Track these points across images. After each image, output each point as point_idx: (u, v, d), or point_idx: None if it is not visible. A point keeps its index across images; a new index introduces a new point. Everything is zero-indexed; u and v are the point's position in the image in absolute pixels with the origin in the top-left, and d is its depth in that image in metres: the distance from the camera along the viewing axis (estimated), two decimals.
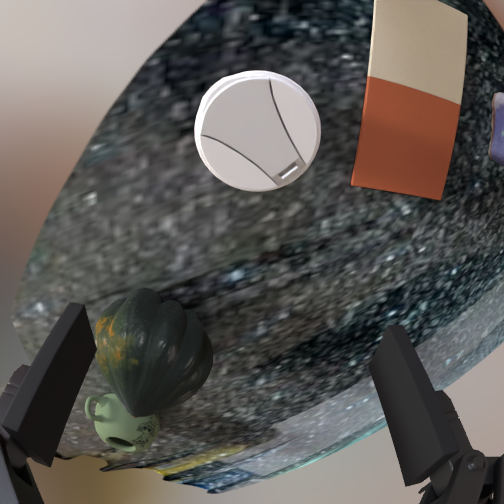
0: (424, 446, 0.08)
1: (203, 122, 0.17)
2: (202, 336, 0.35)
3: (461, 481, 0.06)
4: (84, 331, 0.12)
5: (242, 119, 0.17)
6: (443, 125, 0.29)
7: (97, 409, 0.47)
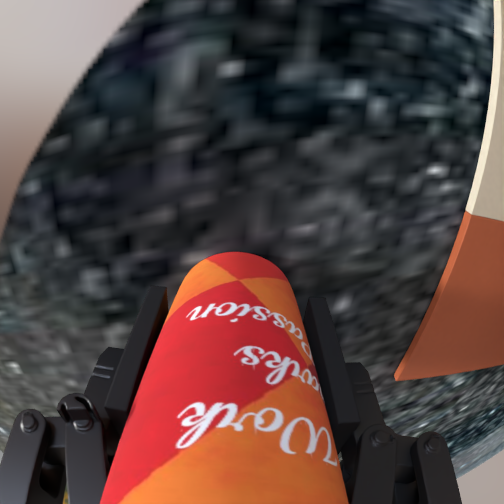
0: None
1: None
2: None
3: (367, 461, 0.07)
4: (165, 313, 0.14)
5: None
6: None
7: None
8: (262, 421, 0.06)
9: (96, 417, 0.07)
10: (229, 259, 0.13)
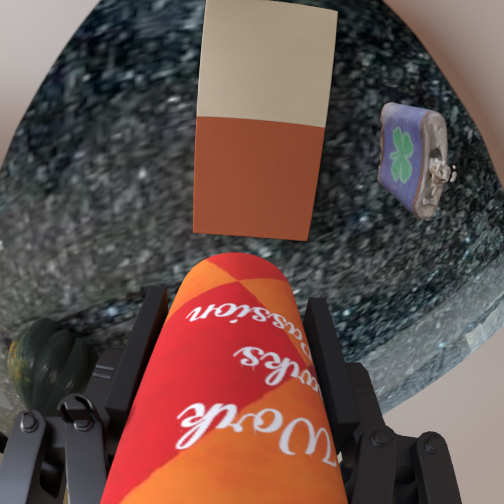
0: (327, 414, 0.09)
1: None
2: (83, 363, 0.36)
3: (367, 461, 0.07)
4: (165, 313, 0.14)
5: None
6: (300, 156, 0.29)
7: None
8: (261, 422, 0.06)
9: (96, 417, 0.07)
10: (229, 260, 0.13)
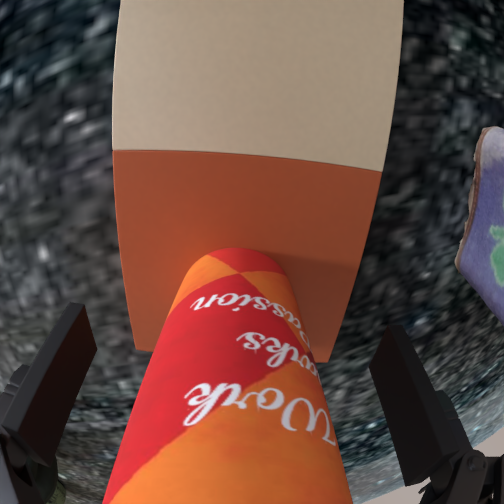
0: (424, 446, 0.08)
1: None
2: (30, 466, 0.21)
3: (461, 481, 0.06)
4: (84, 331, 0.12)
5: None
6: (328, 229, 0.14)
7: None
8: (264, 400, 0.07)
9: None
10: (230, 254, 0.14)
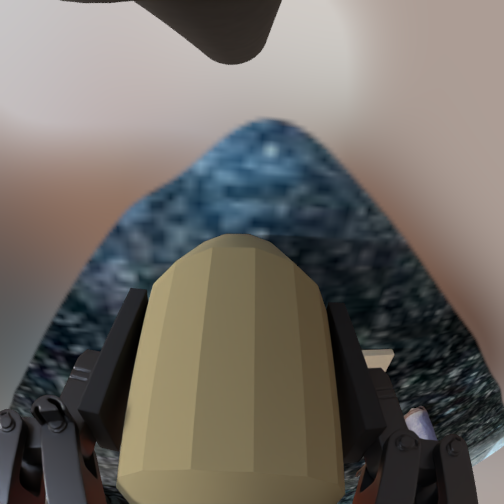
0: (352, 420, 0.09)
1: None
2: None
3: (392, 464, 0.07)
4: None
5: None
6: None
7: None
8: None
9: (69, 418, 0.07)
10: None
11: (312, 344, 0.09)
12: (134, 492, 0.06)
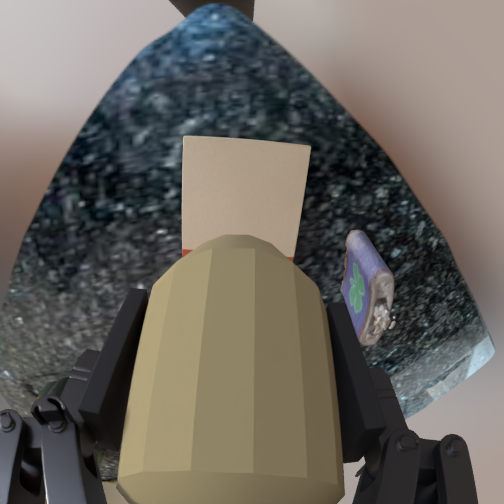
0: (352, 420, 0.09)
1: None
2: None
3: (392, 464, 0.07)
4: None
5: None
6: None
7: None
8: None
9: (69, 418, 0.07)
10: None
11: (312, 346, 0.09)
12: (134, 493, 0.06)
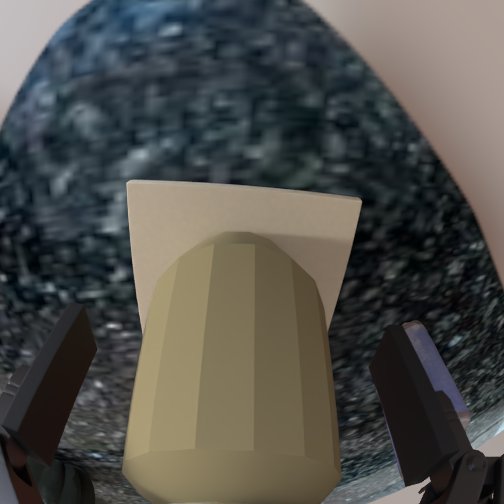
0: (424, 446, 0.08)
1: None
2: (76, 494, 0.29)
3: (461, 481, 0.06)
4: (84, 331, 0.12)
5: None
6: None
7: None
8: None
9: None
10: None
11: (308, 335, 0.10)
12: (140, 475, 0.06)
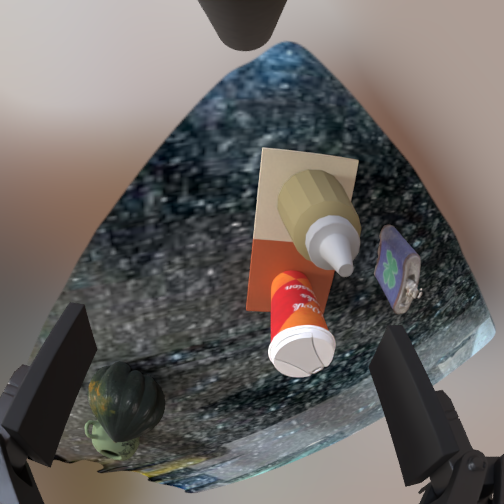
0: (424, 446, 0.08)
1: (276, 354, 0.33)
2: (155, 395, 0.51)
3: (461, 481, 0.06)
4: (84, 331, 0.12)
5: (296, 353, 0.33)
6: None
7: (94, 429, 0.62)
8: (308, 306, 0.37)
9: None
10: (291, 273, 0.44)
11: (344, 192, 0.31)
12: (306, 217, 0.28)
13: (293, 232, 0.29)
